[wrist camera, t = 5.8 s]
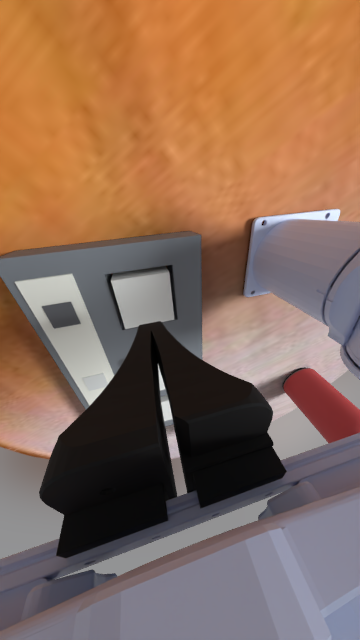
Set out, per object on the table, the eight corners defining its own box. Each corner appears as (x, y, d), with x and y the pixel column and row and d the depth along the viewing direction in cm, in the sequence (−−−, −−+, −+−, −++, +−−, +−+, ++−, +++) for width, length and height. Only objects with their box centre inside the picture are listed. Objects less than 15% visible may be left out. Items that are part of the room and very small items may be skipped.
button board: (189, 230, 16) (202, 235, 13) (196, 398, 30) (203, 417, 27) (15, 250, 14) (-14, 261, 11) (109, 421, 27) (107, 445, 25)
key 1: (163, 262, 16) (169, 272, 14) (168, 305, 19) (174, 319, 16) (113, 269, 16) (111, 280, 13) (125, 312, 18) (125, 329, 16)
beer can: (315, 376, 35) (387, 442, 26) (286, 394, 36) (344, 464, 26) (309, 360, 32) (391, 429, 22) (277, 380, 33) (341, 455, 23)
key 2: (177, 377, 25) (182, 396, 23) (179, 396, 27) (184, 415, 25) (146, 385, 24) (148, 405, 22) (151, 404, 27) (153, 424, 24)
